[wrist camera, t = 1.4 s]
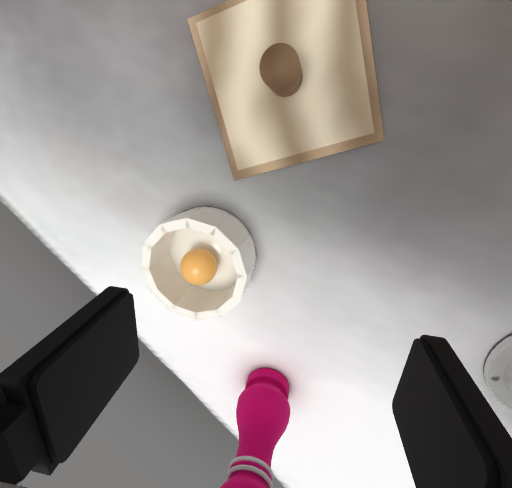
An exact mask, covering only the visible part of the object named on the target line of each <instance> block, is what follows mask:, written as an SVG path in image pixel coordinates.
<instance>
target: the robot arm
mask: <svg viewBox="0 0 512 488" xmlns="http://www.w3.org/2000/svg"><path fill="white" fill-rule="evenodd" d="M138 358H139V347H138V337H137V328H136V319H135V309H134V300H133V295H132V294H131V293H129V291H128V289H126V288H120V287H113V286H110V287H108V288H106V289H105V290H104V291H103V292H101V293H100V294H99V295H98V296H96V297H95V298H94V299H93V300H91V301H90V302H89V303H88V304H86V305H85V306H84V307H83V308H81V309H80V310H79V311H78V312H76V313H75V314H74V315H73V316H71V317H70V318H69V319H68V320H66V321H65V322H64V323H63V324H61V325H60V326H59V327H58V328H56V329H55V330H54V331H53V332H52V333H50V334H49V335H48V336H46V337H45V338H44V339H43V340H41V341H40V342H39V343H38V344H36V345H35V346H34V347H33V348H31V349H30V350H29V351H28V352H26V353H25V354H24V355H23V356H21V357H20V358H19V359H18V360H16V361H15V362H14V363H13V364H12V365H10V366H9V367H8V368H6V369H5V370H4V371H3V372H1V373H0V488H26V487H23V481H24V478H25V477H26V476H27V474H28V473H29V472H30V471H31V470H32V471H34V472H38V473H42V474H46V475H51V474H52V472H53V471H54V470H55V468H56V467H57V465H58V464H59V463H63V462H64V461H66V460H67V458H68V457H69V456H70V455H71V453H72V452H73V451H74V449H75V448H76V446H77V445H78V444H79V442H80V441H81V439H82V438H83V437H84V435H85V434H86V433H87V431H88V430H89V429H90V427H91V426H92V424H93V423H94V421H95V420H96V419H97V417H98V416H99V414H100V413H101V412H102V410H103V409H104V408H105V406H106V405H107V403H108V402H109V401H110V399H111V398H112V397H113V395H114V394H115V393H116V391H117V390H118V388H119V387H120V386H121V384H122V382H123V381H124V380H125V379H126V377H127V376H128V375H129V373H130V372H131V370H132V369H133V368H134V366H135V365H136V363H137V361H138ZM484 377H485V381H486V383H487V385H488V387H489V389H490V390H491V392H492V393H493V394H494V396H495V397H496V398H497V399H498V400H499V401H500V402H502V403H503V404H504V405H506V406H508V407H510V408H511V409H512V335H511V336H509V337H507V338H506V339H504V340H503V341H502V342H500V343H499V344H498V345H497V346H496V347H495V348H494V349H493V350H492V351H491V353H490V354H489V356H488V358H487V360H486V363H485V366H484ZM392 409H393V414H394V417H395V421H396V424H397V427H398V430H399V434H400V437H401V440H402V443H403V447H404V450H405V453H406V457H407V460H408V463H409V466H410V470H411V473H412V476H413V479H414V483H415V486H416V488H512V438H511V437H510V435H509V434H508V432H507V431H506V429H505V428H504V426H503V425H502V423H501V422H500V420H499V419H498V417H497V416H496V414H495V413H494V411H493V410H492V408H491V407H490V405H489V403H488V402H487V400H486V399H485V397H484V396H483V394H482V393H481V391H480V390H479V388H478V387H477V385H476V384H475V382H474V381H473V379H472V378H471V376H470V375H469V373H468V372H467V370H466V369H465V367H464V366H463V364H462V363H461V361H460V360H459V358H458V357H457V355H456V354H455V352H454V351H453V349H452V348H451V346H450V345H449V343H448V342H447V340H446V339H445V338H442V337H435V336H429V335H422V336H421V337H420V339H415V340H414V342H413V344H412V347H411V350H410V353H409V356H408V358H407V361H406V364H405V367H404V370H403V373H402V376H401V378H400V381H399V384H398V387H397V390H396V393H395V395H394V398H393V403H392Z"/></svg>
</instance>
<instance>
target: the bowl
mask: <svg viewBox="0 0 512 488" xmlns="http://www.w3.org/2000/svg"><path fill="white" fill-rule="evenodd" d="M197 248H201V249H205V250H208V251H209V252H211V253H212V254H213V255H214V257H215V258H216V261H217V272H216V275H215V276H214V278H213V279H212V280H211V281H210V282H208V283H206V284H204V285H193V284H191V283H189V282H187V281H186V280H185V279H184V278H183V276H182V274H181V272H180V263H181V260H182V258H183V256H184V255H185V254H186V253H187V252H188V251H190V250H192V249H197ZM255 262H256V249H255V245H254V241H253V239H252V236H251V234H250V233H249V231H248V230H247V228H246V227H245V225H244V224H243V223H242V222H241V221H240V220H239V219H238V218H236V217H235V216H233V215H232V214H230V213H228V212H227V211H224V210H222V209H219V208H215V207H197V208H193V209H190V210H188V211H185V212H181V213H179V214H177V215H175V216H173V217H172V218H170V219H168V220H166V221H165V222H163V223H161V224H159V226H158V227H157V228H156V229H155V230H154V231H153V233H152V234H151V235H150V236H149V237H148V238H147V240H146V241H145V242H144V243H143V251H142V261H141V270H142V273H143V275H144V277H145V280H146V282H147V284H148V287H149V289H150V291H151V293H152V294H153V295H154V296H155V297H156V298H157V299H158V300H159V301H160V302H162V303H163V304H164V305H165V306H166V307H167V308H168V309H169V310H170V311H171V312H174V313H177V314H180V315H183V316H186V317H189V318H192V319H195V320H202V319H209V318H217V317H222V316H223V315H225V314H226V313H227V312H228V311H229V310H231V309H232V308H233V307H234V306H236V305H237V304H238V303H239V302H240V301H241V299H242V297H243V295H244V292H245V290H246V288H247V286H248V284H249V282H250V279H251V275H252V272H253V269H254V267H255Z"/></svg>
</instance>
